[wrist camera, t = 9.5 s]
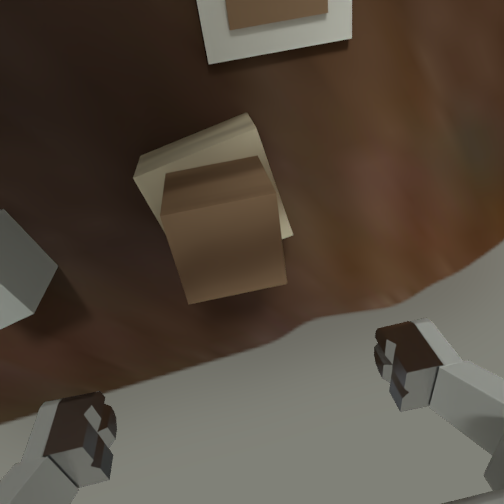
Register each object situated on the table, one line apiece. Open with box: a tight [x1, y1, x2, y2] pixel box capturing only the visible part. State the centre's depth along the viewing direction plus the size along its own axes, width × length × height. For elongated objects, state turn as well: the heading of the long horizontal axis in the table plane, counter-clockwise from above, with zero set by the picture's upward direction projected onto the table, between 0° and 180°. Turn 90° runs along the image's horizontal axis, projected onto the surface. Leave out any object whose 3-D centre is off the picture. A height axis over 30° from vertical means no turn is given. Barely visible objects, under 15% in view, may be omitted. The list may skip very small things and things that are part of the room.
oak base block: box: [133, 112, 293, 239], centre depth 23 cm, size 7×7×4 cm
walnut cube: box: [160, 155, 287, 304], centre depth 19 cm, size 5×5×5 cm
